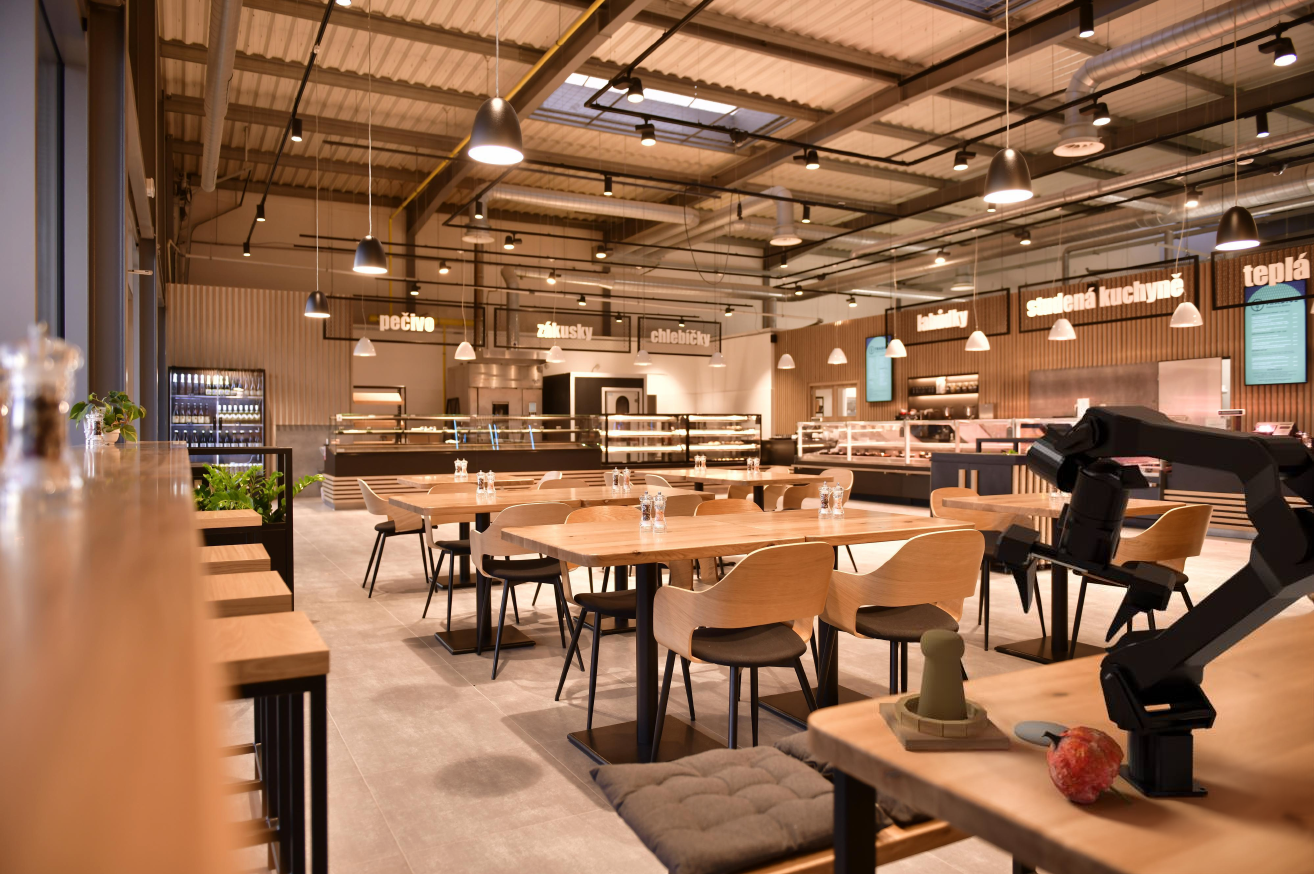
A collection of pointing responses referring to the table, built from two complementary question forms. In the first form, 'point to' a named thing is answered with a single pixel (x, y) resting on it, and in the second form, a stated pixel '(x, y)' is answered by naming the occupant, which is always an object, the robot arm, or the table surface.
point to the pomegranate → (1083, 763)
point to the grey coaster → (1038, 731)
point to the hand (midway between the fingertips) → (1065, 626)
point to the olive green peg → (942, 676)
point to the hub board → (942, 742)
